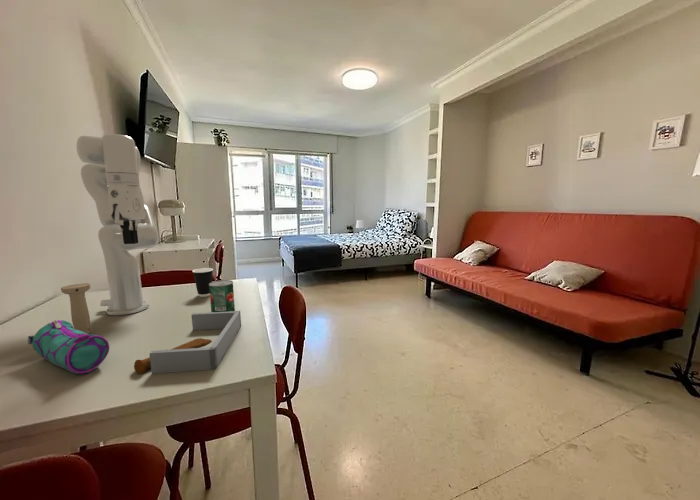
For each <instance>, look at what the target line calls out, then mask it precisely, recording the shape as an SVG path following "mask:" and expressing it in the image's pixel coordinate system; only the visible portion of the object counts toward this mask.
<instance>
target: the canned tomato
mask: <svg viewBox="0 0 700 500" xmlns="http://www.w3.org/2000/svg"><path fill="white" fill-rule="evenodd" d="M233 281H234V280H229V279H223V280H221V279H220V280H214V281H212V282H211V283H209V291H210V295H209V298H210V299H209V300H210V303H209V304H210V312H230V311H236V308H235V306H236V305H235V291H234V282H233Z"/></svg>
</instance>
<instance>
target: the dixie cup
mask: <svg viewBox="0 0 700 500" xmlns="http://www.w3.org/2000/svg"><path fill="white" fill-rule="evenodd" d="M213 271H214V269H213V268H212V267H201V268H195V269H192V273H193V278H194V283H195V288H196V291H197V294H198V297H200V298H202V297H203V298H205V297H210V291H209V283H211V282H213Z"/></svg>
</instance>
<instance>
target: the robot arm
mask: <svg viewBox="0 0 700 500" xmlns="http://www.w3.org/2000/svg"><path fill="white" fill-rule="evenodd" d="M76 140H77V141H76V152H77V155H78V158H79V160H80V161H81V162H83V163H84V165H82V167H81V169H80V176H81V180H82V184H83V185H84V187H85V189H86V191H87V193H88V194H89V195H90V197H91V198H92V200H93V201H94V202H95V203H94V204H95V206H96V210H97V215H98V219H99V221H100V223H101V225H102V227H101V228H100V229H99V230H98V232H97V236H98V241H99V243H100V247H101V250H102V253H103V257H104V263H105V270H106V276H107V284H108V290H109V291H108V292H109V299H101V300H100V304H99V305H100V307H106V306H107V309H106V314H107V315H109V316H125V315H132V314H135V313H138V312H142V311H144V310H146V309H148V307H149V306H150V305H149V302H147V301H144V297H143V289H142V288H143V287H142V281H141V272H140V264H139V261H138V259H137V258H136V257H135V256H134V255H132V254H131V252H129V251H133V250H145V249H151V248H155V247H156V246H157V245H159V242H160V240H159V239H160V237H159V232H158V229H157V226H156V224H155V221H154V218H153V214H152V212H151V209H150V208H149V206H148V205H146V204H145V201H144V196H143V192H142V188H141V185H140V183H141V182H140V171H141V170H140V169H141V154H140V151H139V150H140V149H138V147H137V145H136V142H135V140H134V139H133V138H132V137H131V136H128V135H124V134H115V133H107V134H104V135H102V137H101V136H92V135H91V136H90V135H80V136H79V137H78V138H77V139H76Z"/></svg>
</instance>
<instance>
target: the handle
mask: <svg viewBox="0 0 700 500" xmlns="http://www.w3.org/2000/svg"><path fill="white" fill-rule="evenodd" d="M90 289H91V283H88V282H87V283H86V282H85V283H76V284H71V285H69V284H68V285H65V286H62V287H60V292H61V293H63V294H65V295H68V297H69V303H70V315H71V324H72V326H73V328H74V329H76V330H79V331H83V332H85V333H87V334H91V328H90V327H91V317H90V311H89V307H88V305H87V300H86V292H87V291H89V290H90Z"/></svg>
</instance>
